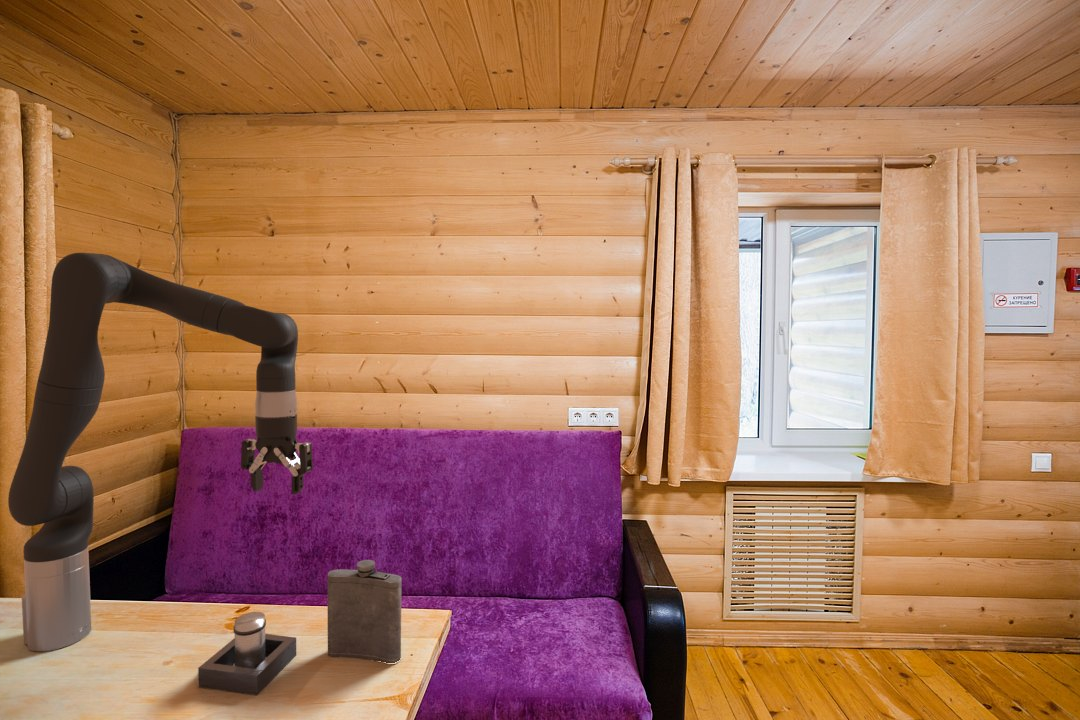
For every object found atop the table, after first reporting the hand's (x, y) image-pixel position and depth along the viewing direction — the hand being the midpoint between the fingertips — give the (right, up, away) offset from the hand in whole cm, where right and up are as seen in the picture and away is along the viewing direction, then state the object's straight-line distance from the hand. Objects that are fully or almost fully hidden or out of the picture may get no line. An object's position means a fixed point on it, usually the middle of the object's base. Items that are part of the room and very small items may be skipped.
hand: (277, 491), depth 108 cm
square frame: (+1, -29, -12) cm, 32 cm away
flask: (+20, -30, -7) cm, 36 cm away
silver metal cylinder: (+1, -29, -12) cm, 32 cm away
